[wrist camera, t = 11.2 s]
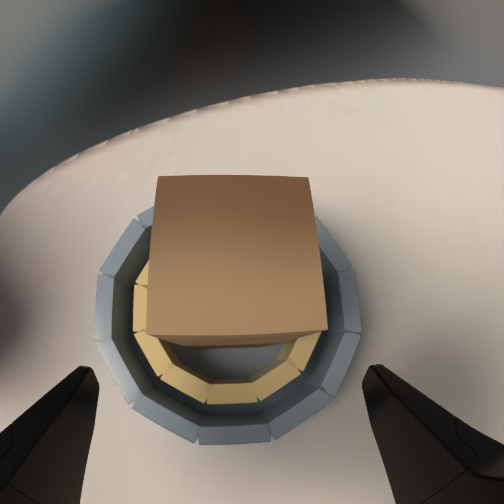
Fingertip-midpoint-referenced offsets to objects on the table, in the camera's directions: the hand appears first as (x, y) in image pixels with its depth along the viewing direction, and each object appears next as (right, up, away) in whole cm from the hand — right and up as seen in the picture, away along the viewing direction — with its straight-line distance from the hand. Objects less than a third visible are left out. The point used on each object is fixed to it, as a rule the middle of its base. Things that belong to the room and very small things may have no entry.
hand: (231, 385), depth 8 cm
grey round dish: (-1, 0, +9) cm, 9 cm away
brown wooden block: (-1, 0, +9) cm, 9 cm away
